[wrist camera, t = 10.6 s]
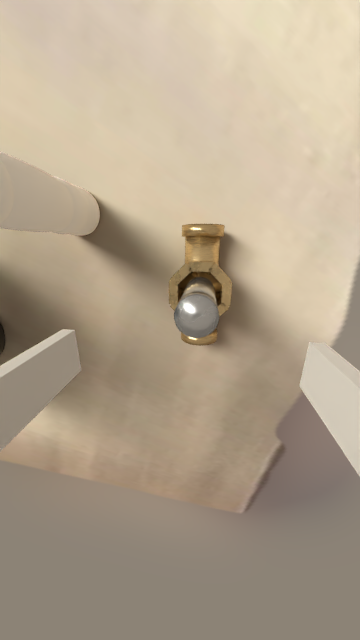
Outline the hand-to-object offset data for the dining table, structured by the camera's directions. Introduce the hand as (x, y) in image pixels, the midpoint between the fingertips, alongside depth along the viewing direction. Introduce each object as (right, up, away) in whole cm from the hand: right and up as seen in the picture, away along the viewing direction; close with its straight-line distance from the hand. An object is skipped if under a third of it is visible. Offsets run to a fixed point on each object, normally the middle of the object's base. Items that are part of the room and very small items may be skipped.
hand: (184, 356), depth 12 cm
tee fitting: (+3, +8, +24) cm, 26 cm away
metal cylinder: (+3, +6, +18) cm, 20 cm away
